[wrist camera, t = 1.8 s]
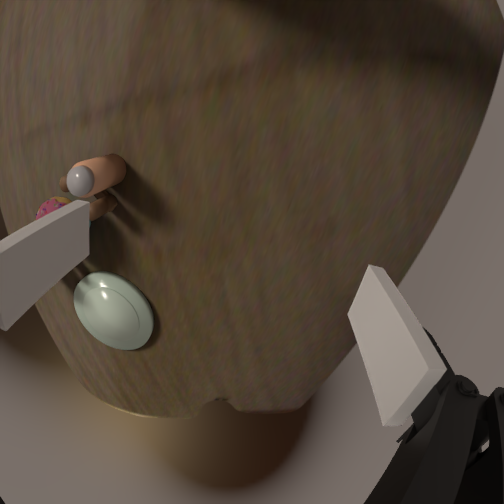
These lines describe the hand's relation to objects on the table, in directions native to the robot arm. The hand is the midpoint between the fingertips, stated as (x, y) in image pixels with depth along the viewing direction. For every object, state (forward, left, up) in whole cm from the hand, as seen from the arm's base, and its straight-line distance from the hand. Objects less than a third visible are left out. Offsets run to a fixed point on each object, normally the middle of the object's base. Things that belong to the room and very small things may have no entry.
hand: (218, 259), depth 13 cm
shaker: (-13, -12, -22) cm, 28 cm away
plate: (0, -29, -22) cm, 37 cm away
